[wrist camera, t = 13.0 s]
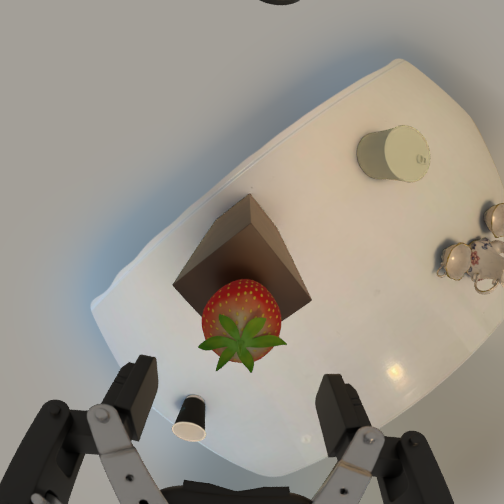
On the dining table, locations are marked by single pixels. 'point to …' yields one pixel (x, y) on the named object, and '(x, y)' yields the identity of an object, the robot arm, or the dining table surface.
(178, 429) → the dixie cup
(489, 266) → the chinaware
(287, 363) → the dining table surface
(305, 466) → the dining table surface
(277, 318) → the fruit
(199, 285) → the plinth
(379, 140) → the can
